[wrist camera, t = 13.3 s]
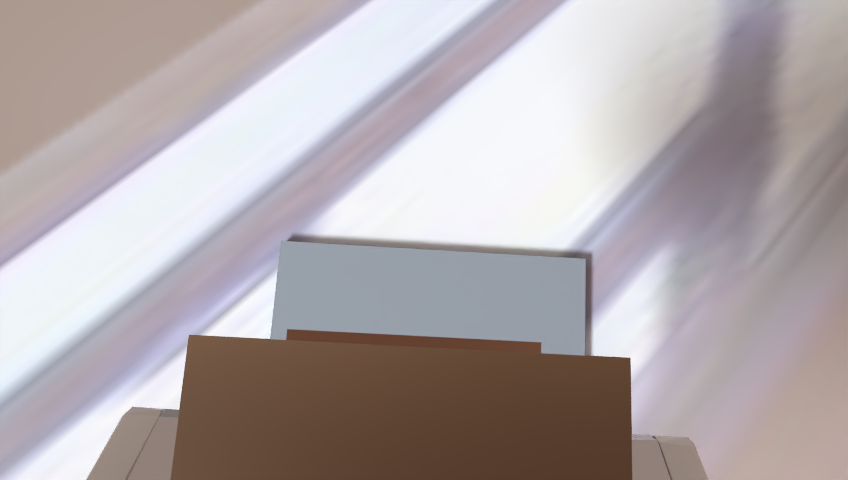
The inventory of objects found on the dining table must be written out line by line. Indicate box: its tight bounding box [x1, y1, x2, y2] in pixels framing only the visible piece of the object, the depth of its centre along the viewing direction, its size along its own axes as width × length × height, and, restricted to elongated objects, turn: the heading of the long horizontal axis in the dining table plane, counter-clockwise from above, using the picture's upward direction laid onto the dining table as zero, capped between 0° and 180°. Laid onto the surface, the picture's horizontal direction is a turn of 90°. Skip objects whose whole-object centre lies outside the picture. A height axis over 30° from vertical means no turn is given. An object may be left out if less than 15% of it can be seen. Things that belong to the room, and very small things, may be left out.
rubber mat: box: [270, 241, 586, 356], centre depth 32 cm, size 16×16×1 cm
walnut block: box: [170, 329, 632, 480], centre depth 11 cm, size 4×5×9 cm
